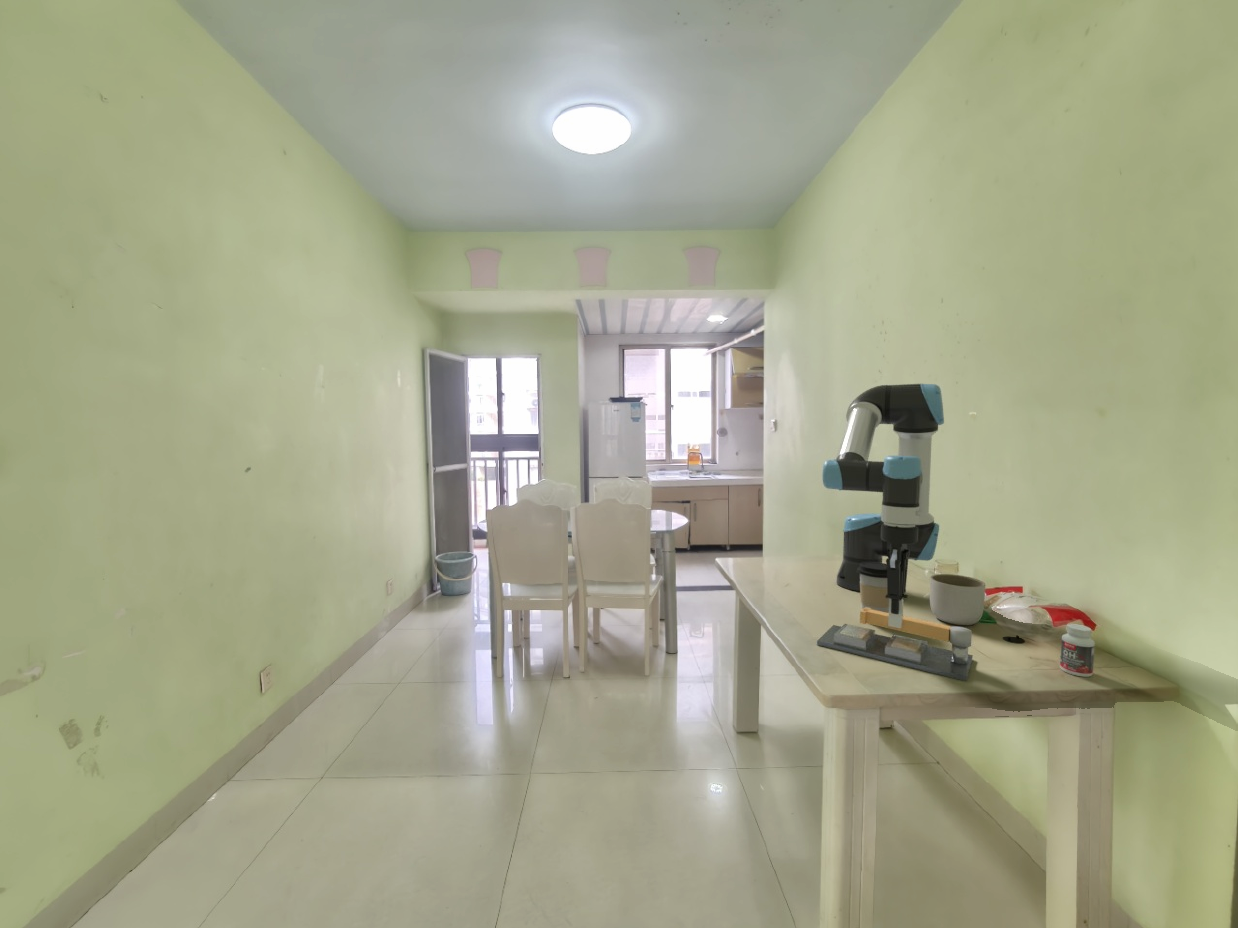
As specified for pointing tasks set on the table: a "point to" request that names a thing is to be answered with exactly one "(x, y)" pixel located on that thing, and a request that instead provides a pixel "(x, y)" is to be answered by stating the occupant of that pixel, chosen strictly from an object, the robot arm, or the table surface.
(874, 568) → the coffee cup
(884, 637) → the grey switch panel
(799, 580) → the table surface
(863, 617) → the swing arm
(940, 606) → the planter
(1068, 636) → the pill bottle
